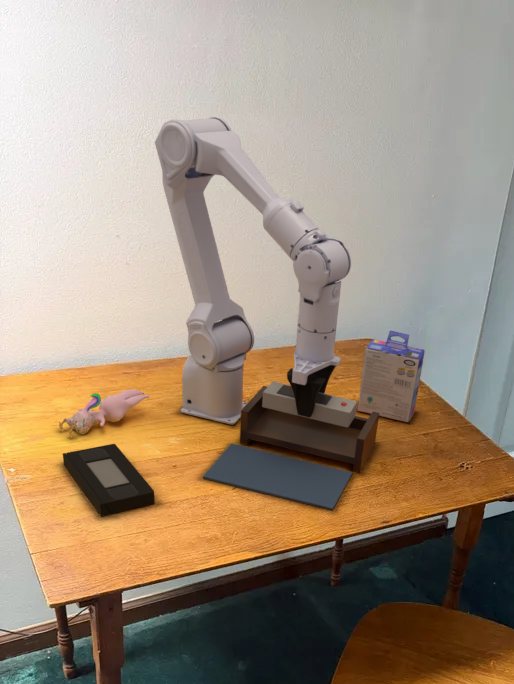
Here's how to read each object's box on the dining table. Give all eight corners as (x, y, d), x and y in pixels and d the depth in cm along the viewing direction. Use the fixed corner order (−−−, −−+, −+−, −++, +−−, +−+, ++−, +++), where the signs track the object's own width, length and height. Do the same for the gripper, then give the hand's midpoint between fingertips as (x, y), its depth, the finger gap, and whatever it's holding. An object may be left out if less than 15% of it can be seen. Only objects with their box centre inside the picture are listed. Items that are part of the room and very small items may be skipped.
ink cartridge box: (415, 411, 145) (428, 336, 136) (409, 424, 140) (423, 347, 132) (363, 399, 145) (373, 324, 137) (356, 411, 141) (366, 334, 133)
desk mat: (202, 478, 116) (202, 476, 116) (231, 445, 125) (231, 443, 125) (332, 510, 114) (332, 508, 114) (352, 474, 123) (352, 472, 123)
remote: (262, 407, 123) (262, 390, 121) (271, 395, 126) (272, 380, 125) (348, 427, 122) (350, 411, 120) (355, 416, 125) (357, 400, 123)
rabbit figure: (79, 450, 120) (160, 410, 128) (70, 417, 115) (154, 378, 124) (56, 434, 122) (136, 395, 131) (46, 401, 118) (129, 364, 127)
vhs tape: (115, 455, 118) (114, 443, 116) (155, 503, 109) (154, 491, 108) (64, 465, 113) (62, 453, 112) (101, 516, 105) (100, 504, 104)
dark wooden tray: (239, 443, 126) (240, 410, 122) (261, 417, 134) (263, 385, 130) (359, 473, 124) (364, 439, 121) (374, 444, 132) (379, 412, 129)
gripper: (329, 349, 109) (320, 434, 117) (355, 316, 121) (346, 396, 129) (280, 337, 110) (275, 423, 118) (311, 306, 122) (305, 386, 130)
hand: (309, 408), depth 124 cm, fingers closed on remote, 4 cm apart
